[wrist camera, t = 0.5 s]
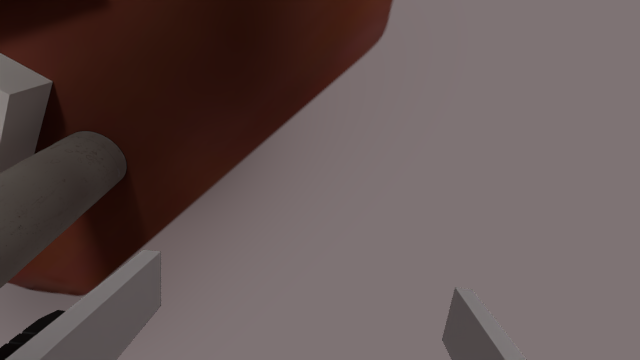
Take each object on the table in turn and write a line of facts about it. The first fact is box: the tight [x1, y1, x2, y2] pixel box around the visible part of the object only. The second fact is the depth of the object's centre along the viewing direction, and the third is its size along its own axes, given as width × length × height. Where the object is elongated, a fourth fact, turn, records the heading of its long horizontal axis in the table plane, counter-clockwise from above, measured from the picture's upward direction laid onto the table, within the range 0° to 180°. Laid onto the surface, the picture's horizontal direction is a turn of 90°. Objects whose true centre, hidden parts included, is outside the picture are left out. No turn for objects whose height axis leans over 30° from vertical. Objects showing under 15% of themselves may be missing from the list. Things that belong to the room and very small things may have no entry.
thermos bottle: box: [0, 131, 127, 288], centre depth 30 cm, size 8×8×28 cm
